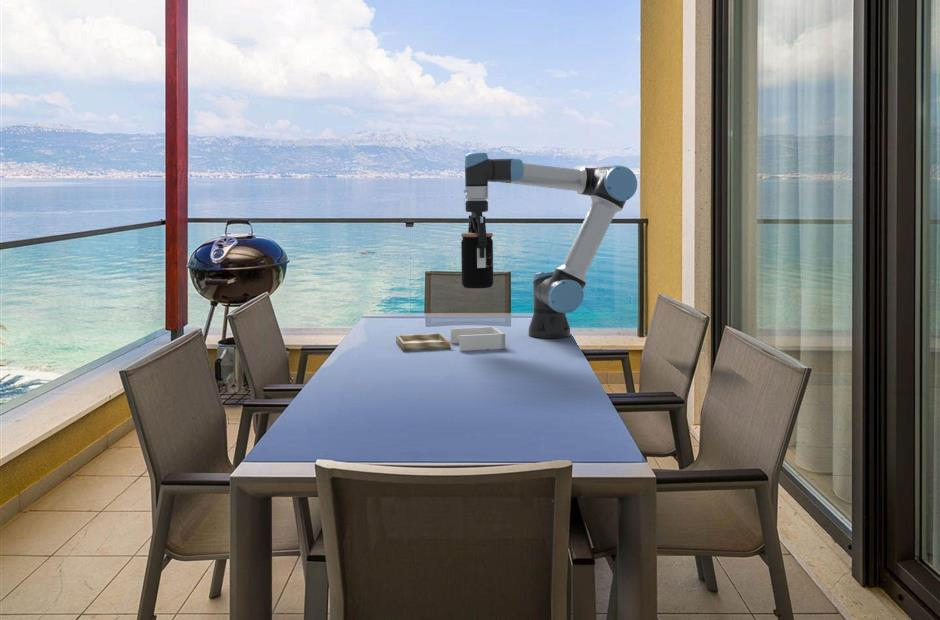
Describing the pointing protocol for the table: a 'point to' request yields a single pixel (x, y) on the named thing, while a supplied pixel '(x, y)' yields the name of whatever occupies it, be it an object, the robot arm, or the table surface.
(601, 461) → the table surface
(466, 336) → the frame
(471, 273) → the coffee jar
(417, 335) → the tray
